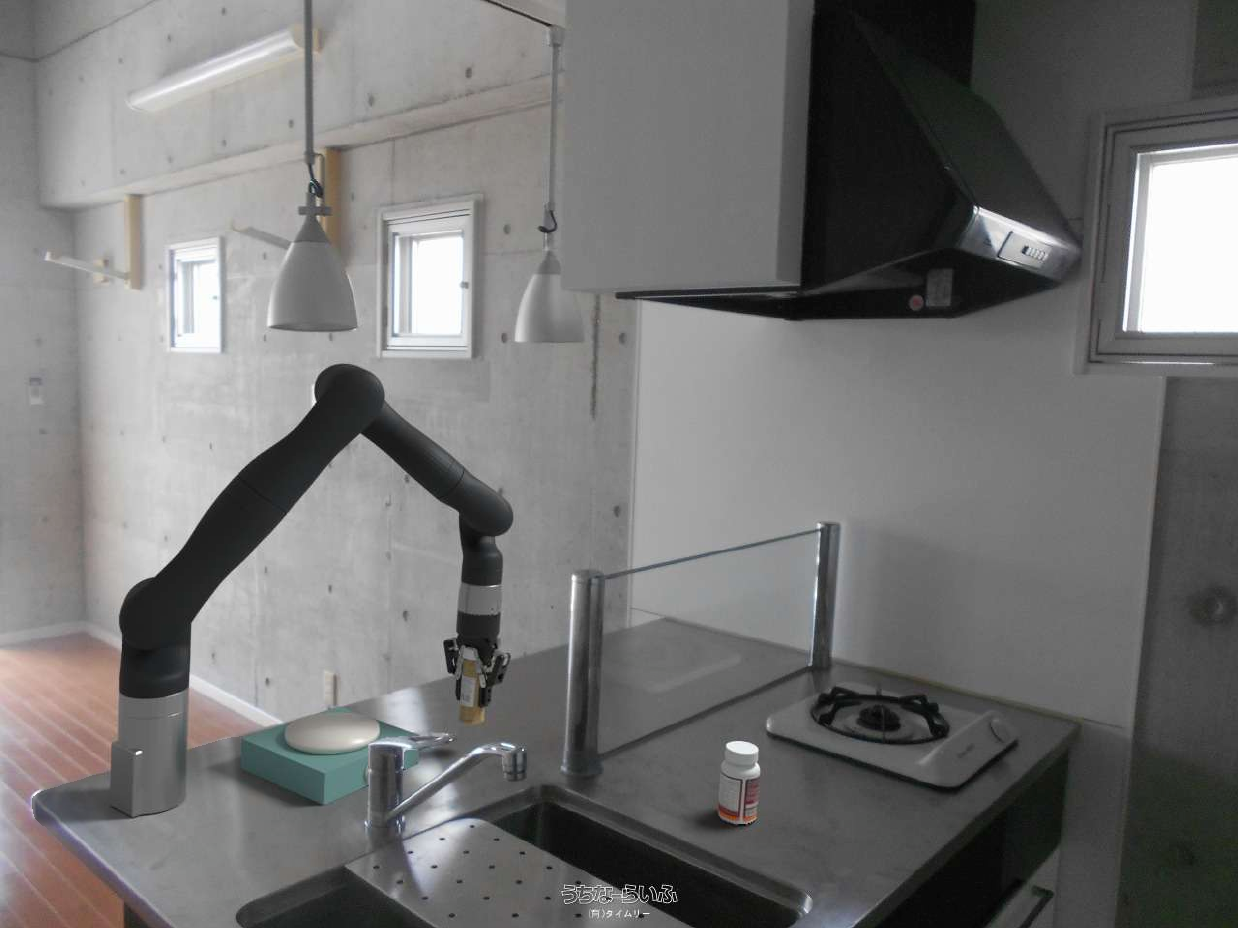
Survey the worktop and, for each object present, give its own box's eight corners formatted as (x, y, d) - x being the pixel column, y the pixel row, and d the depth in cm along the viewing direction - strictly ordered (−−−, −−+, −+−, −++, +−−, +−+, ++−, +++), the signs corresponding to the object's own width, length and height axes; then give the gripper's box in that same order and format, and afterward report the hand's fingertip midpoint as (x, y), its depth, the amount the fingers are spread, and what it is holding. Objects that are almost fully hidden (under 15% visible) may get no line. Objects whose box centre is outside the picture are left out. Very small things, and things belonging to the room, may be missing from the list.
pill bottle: (753, 808, 145) (759, 740, 144) (759, 827, 139) (765, 756, 138) (715, 806, 145) (720, 738, 144) (719, 824, 139) (724, 753, 138)
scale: (326, 806, 136) (327, 774, 136) (240, 768, 147) (241, 738, 147) (420, 764, 153) (422, 735, 153) (338, 732, 164) (339, 706, 164)
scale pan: (327, 762, 140) (327, 754, 140) (264, 737, 147) (265, 729, 147) (398, 734, 152) (398, 727, 152) (337, 712, 160) (338, 705, 160)
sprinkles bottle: (488, 723, 158) (494, 648, 157) (464, 727, 155) (470, 650, 154) (477, 714, 162) (483, 641, 161) (453, 718, 159) (459, 643, 158)
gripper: (434, 602, 158) (427, 698, 159) (497, 619, 150) (490, 719, 151) (463, 596, 164) (456, 688, 165) (525, 611, 156) (517, 707, 158)
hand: (472, 702), depth 158 cm, fingers closed on sprinkles bottle, 4 cm apart
